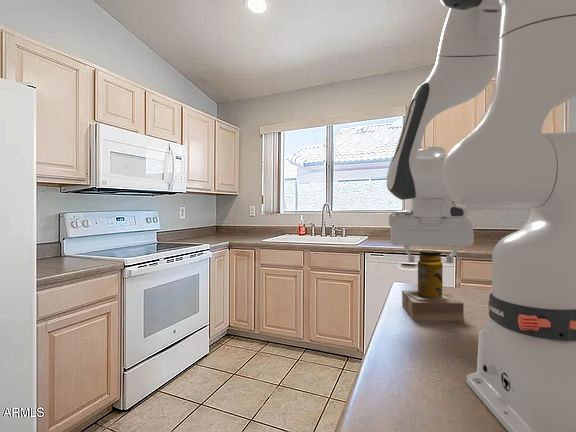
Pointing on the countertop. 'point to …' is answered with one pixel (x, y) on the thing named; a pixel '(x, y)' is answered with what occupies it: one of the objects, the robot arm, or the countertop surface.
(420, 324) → the countertop surface
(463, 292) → the countertop surface
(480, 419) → the countertop surface
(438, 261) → the condiment
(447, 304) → the walnut block
